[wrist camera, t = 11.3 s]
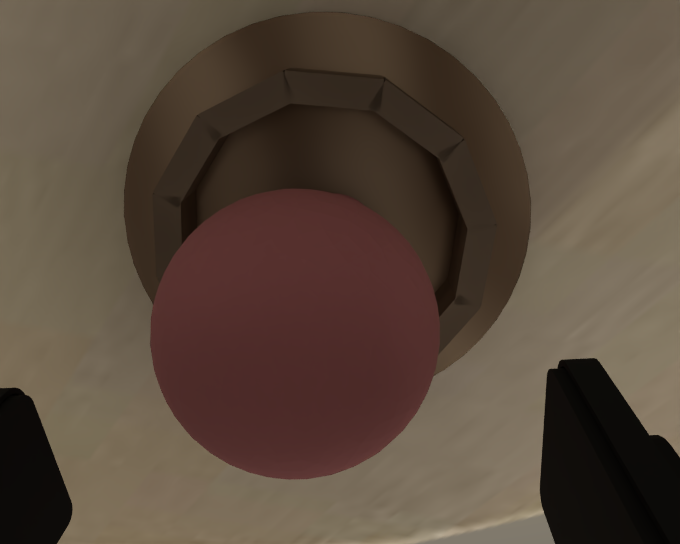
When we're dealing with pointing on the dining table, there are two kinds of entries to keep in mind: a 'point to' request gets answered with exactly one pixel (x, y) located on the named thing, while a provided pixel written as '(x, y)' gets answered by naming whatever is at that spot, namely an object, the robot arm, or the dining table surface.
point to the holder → (341, 153)
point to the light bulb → (295, 333)
